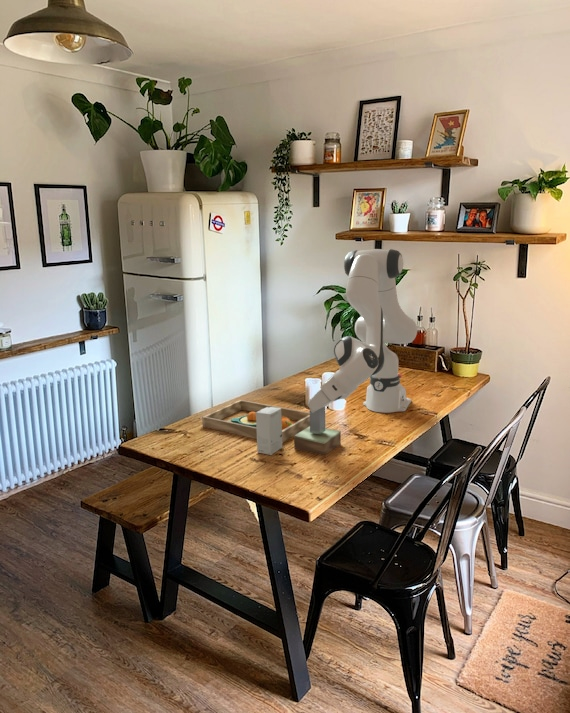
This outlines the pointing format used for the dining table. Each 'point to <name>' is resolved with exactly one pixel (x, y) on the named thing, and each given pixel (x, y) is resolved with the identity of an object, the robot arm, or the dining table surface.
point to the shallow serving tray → (216, 423)
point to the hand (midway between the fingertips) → (315, 408)
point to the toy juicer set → (251, 420)
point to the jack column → (317, 421)
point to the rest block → (317, 441)
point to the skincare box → (269, 430)
